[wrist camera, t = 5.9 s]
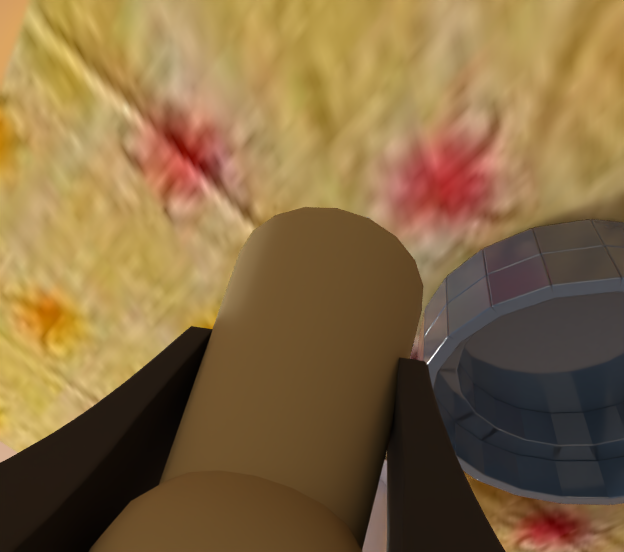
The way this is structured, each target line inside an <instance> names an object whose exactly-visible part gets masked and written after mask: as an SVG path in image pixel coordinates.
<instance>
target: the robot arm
mask: <svg viewBox="0 0 624 552" xmlns="http://www.w3.org/2000/svg"><path fill="white" fill-rule="evenodd" d="M212 330H213V329H206V328H199V327H193V326H191V327H190V328H189V329H187V330H186V331H185V332H184V333H183V334H181V335H180V336H179V337H178V338H177V339H176V340H174V341H173V342H172V343H171V344H170V345H169V346H168V347H166V348H165V349H164V350H163V351H162V352H161V353H159V354H158V355H157V356H156V357H155V358H154V359H152V360H151V361H150V362H149V363H148V364H147V365H145V366H144V367H143V368H142V369H140V370H139V371H138V372H137V373H136V374H134V375H133V376H132V377H131V378H130V379H128V380H127V381H126V382H125V383H123V384H122V385H121V386H119V387H118V388H117V389H115V390H114V391H113V392H111V393H110V394H109V395H108V396H106V397H105V398H104V399H102V400H101V401H100V402H98V403H97V404H96V405H94V406H93V407H91V408H90V409H89V410H87V411H86V412H84V413H83V414H81V415H80V416H78V417H77V418H75V419H74V420H72V421H71V422H69V423H68V424H66V425H65V426H63V427H62V428H60V429H59V430H57V431H55V432H54V433H52V434H51V435H49V436H47V437H45V438H44V439H42V440H40V441H38V442H37V443H35V444H33V445H31V446H30V447H28V448H26V449H24V450H23V451H21V452H19V453H17V454H16V455H14V456H12V457H11V458H9V459H7V460H5V461H3V462H1V463H0V552H89V550H90V548H91V547H92V546H93V545H94V543H95V542H96V541H97V540H98V539H99V537H100V536H101V535H102V534H103V533H104V531H105V530H106V529H107V528H108V527H109V526H110V525H111V523H112V522H113V521H114V520H115V519H116V518H117V516H118V515H119V514H120V513H121V512H122V511H123V510H124V508H125V507H126V506H127V505H128V504H129V503H130V501H132V500H134V499H135V498H137V497H139V496H140V495H142V494H144V493H146V492H147V491H149V490H151V489H153V488H154V487H156V486H158V485H159V482H160V479H161V477H162V474H163V471H164V468H165V465H166V462H167V459H168V456H169V454H170V451H171V448H172V445H173V442H174V439H175V436H176V433H177V430H178V428H179V425H180V422H181V419H182V416H183V413H184V410H185V407H186V405H187V402H188V399H189V396H190V393H191V390H192V387H193V384H194V381H195V379H196V376H197V373H198V370H199V367H200V364H201V361H202V358H203V356H204V353H205V350H206V347H207V344H208V341H209V338H210V335H211V333H212ZM362 551H363V552H505V550H504V548H503V547H502V545H501V543H500V542H499V540H498V538H497V536H496V535H495V533H494V531H493V529H492V527H491V526H490V524H489V522H488V520H487V518H486V517H485V515H484V513H483V511H482V509H481V507H480V505H479V503H478V501H477V499H476V497H475V495H474V493H473V491H472V489H471V487H470V485H469V483H468V481H467V479H466V477H465V474H464V472H463V470H462V468H461V465H460V463H459V461H458V458H457V456H456V454H455V451H454V449H453V446H452V444H451V441H450V439H449V436H448V433H447V431H446V428H445V425H444V423H443V420H442V417H441V414H440V411H439V408H438V405H437V401H436V398H435V395H434V391H433V387H432V383H431V379H430V374H429V368H428V364H427V363H426V362H425V361H421V360H414V359H407V358H401V357H399V365H398V375H397V386H396V396H395V404H394V414H393V424H392V432H391V436H390V440H389V444H388V448H387V460H384V464H383V468H382V472H381V476H380V480H379V484H378V488H377V492H376V496H375V500H374V504H373V508H372V512H371V517H370V521H369V525H368V529H367V533H366V537H365V541H364V545H363V549H362Z"/></svg>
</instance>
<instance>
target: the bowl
mask: <svg viewBox="0 0 624 552" xmlns="http://www.w3.org/2000/svg"><path fill="white" fill-rule="evenodd" d="M418 360H421V361H425V362H426V363H427V364H428V368H429V374H430V379H431V383H432V387H433V391H434V395H435V398H436V401H437V405H438V408H439V411H440V414H441V417H442V420H443V423H444V425H445V428H446V431H447V433H448V436H449V439H450V441H451V444H452V446H453V449H454V451H455V454H456V456H457V458H458V461H459V463H460V465H461V468H462V470H463V471H464V472H466V473H467V474H469V475H470V476H472V477H473V478H474V479H476V480H478V481H480V482H483V483H486V484H488V485H491V486H493V487H496V488H498V489H501V490H504V491H506V492H509V493H511V494H514V495H517V496H522V497H528V498H533V499H538V500H543V501H549V502H554V503H559V504H561V503H562V504H587V505H610V504H611V505H615V504H623V503H624V222H615V221H605V220H595V219H591V220H590V219H587V220H581V221H574V222H567V223H560V224H554V225H547V226H540V227H534V228H533V229H528V230H526V231H523V232H521V233H519V234H516V235H514V236H511V237H509V238H507V239H504V240H502V241H499V242H497V243H494V244H492V245H490V246H487V247H485V248H483V249H481V250H480V251H479V252H477V253H476V254H475V255H473V256H472V257H471V258H470V259H468V260H467V261H466V262H464V263H463V264H462V265H461V266H459V267H458V268H457V269H455V270H454V271H453V272H452V273H450V274H449V275H448V276H447V277H446V278H445V279H444V281H443V282H442V284H441V285H440V287H439V288H438V290H437V291H436V293H435V294H434V296H433V297H432V299H431V300H430V302H429V303H428V305H427V306H426V308H425V310H424V315H423V320H422V325H421V330H420V335H419V342H418Z"/></svg>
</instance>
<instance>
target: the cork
mask: <svg viewBox="0 0 624 552" xmlns="http://www.w3.org/2000/svg"><path fill="white" fill-rule="evenodd" d="M422 297H423V283H422V280H421V277H420V274H419V271H418V268H417V265H416V262H415V260H414V259H413V257H412V256H411V255H410V254H409V252H408V251H407V250H406V248H405V247H404V246H403V245H402V243H401V242H400V241H399V240H398V238H397V237H396V236H394V235H393V234H391V233H390V232H388V231H387V230H385V229H384V228H382V227H381V226H380V225H378V224H377V223H375V222H374V221H372V220H371V219H369V218H366V217H363V216H360V215H357V214H353V213H350V212H347V211H344V210H341V209H338V208H311V207H304V208H300V209H296V210H293V211H289V212H286V213H282V214H278V215H275V216H274V217H272V218H271V219H269V220H268V221H267V222H265V223H264V224H262V225H261V226H259V227H258V228H256V229H255V230H254V231H253V232H252V233H251V235H250V236H249V238H248V239H247V241H246V242H245V244H244V246H243V247H242V249H241V250H240V252H239V255H238V258H237V260H236V263H235V266H234V269H233V272H232V275H231V278H230V281H229V284H228V286H227V289H226V292H225V295H224V298H223V301H222V304H221V307H220V309H219V312H218V315H217V318H216V321H215V324H214V327H213V330H212V333H211V335H210V338H209V341H208V344H207V347H206V350H205V353H204V356H203V358H202V361H201V364H200V367H199V370H198V373H197V376H196V379H195V381H194V384H193V387H192V390H191V393H190V396H189V399H188V402H187V405H186V407H185V410H184V413H183V416H182V419H181V422H180V425H179V428H178V430H177V433H176V436H175V439H174V442H173V445H172V448H171V451H170V454H169V456H168V459H167V462H166V465H165V468H164V471H163V474H162V477H161V479H160V482H159V485H158V486H156V487H154V488H153V489H151V490H149V491H147V492H146V493H144V494H142V495H140V496H139V497H137V498H135V499H134V500H132V501H130V503H129V504H128V505H127V506H126V507H125V508H124V510H123V511H122V512H121V513H120V514H119V515H118V516H117V518H116V519H115V520H114V521H113V522H112V523H111V525H110V526H109V527H108V528H107V529H106V530H105V531H104V533H103V534H102V535H101V536H100V537H99V539H98V540H97V541H96V542H95V543H94V545H93V546H92V547H91V548H90V550H89V552H363V551H362V549H363V545H364V541H365V537H366V533H367V529H368V525H369V521H370V517H371V512H372V508H373V504H374V500H375V496H376V492H377V488H378V484H379V480H380V476H381V472H382V468H383V464H384V460H385V456H386V452H387V448H388V444H389V440H390V436H391V432H392V424H393V414H394V404H395V396H396V386H397V375H398V365H399V357H401V358H407V359H410V355H411V351H412V347H413V343H414V339H415V335H416V331H417V326H418V322H419V318H420V314H421V310H422Z"/></svg>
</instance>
